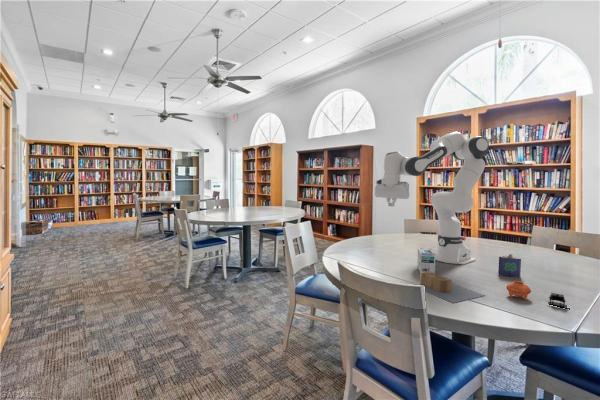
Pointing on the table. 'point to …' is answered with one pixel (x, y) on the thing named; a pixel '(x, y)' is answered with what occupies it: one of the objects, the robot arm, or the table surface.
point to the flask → (509, 266)
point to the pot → (518, 289)
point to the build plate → (558, 298)
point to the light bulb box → (426, 260)
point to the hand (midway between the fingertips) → (391, 206)
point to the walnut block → (436, 281)
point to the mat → (455, 294)
